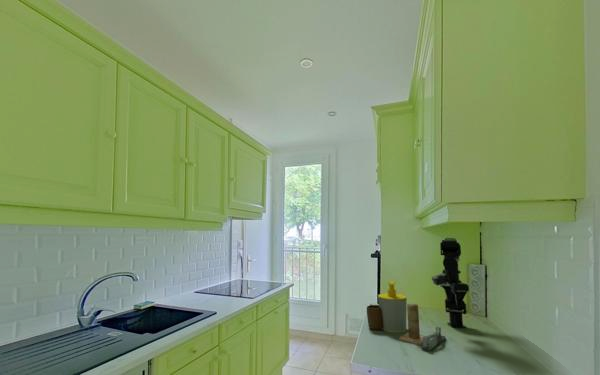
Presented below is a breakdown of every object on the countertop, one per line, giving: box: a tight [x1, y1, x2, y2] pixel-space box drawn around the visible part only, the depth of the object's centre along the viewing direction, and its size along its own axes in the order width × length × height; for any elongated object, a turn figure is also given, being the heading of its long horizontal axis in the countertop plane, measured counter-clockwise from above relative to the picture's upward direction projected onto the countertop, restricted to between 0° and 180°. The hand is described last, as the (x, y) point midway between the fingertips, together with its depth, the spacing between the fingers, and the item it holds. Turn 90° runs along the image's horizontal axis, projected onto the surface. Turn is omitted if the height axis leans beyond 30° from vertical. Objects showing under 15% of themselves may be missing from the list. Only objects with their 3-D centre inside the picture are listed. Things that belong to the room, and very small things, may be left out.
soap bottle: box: [377, 281, 407, 334], centre depth 145 cm, size 13×13×21 cm
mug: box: [366, 304, 384, 331], centre depth 147 cm, size 12×8×9 cm, turn 1°
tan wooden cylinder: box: [406, 303, 421, 339], centre depth 129 cm, size 4×4×13 cm
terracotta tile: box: [399, 332, 425, 346], centre depth 128 cm, size 9×9×1 cm
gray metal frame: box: [421, 326, 446, 353], centre depth 123 cm, size 19×3×4 cm, turn 139°
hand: (454, 304), depth 136 cm, fingers open, 9 cm apart
